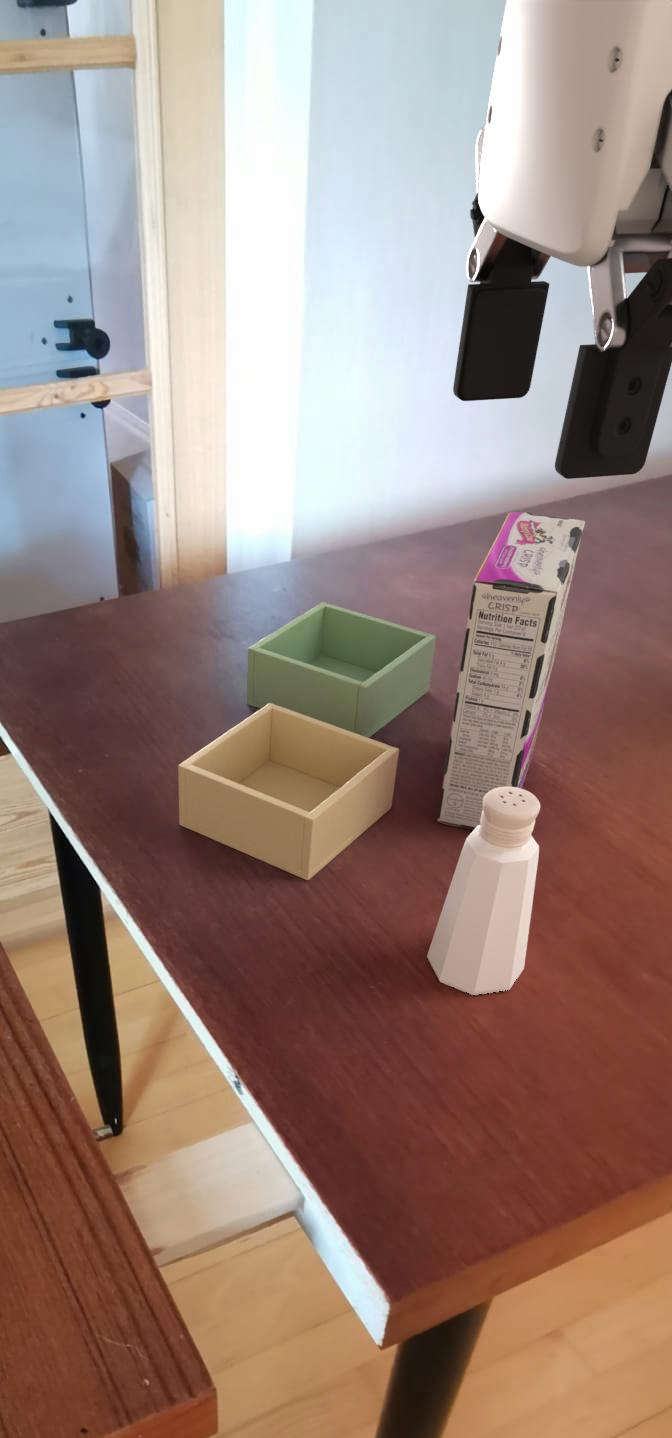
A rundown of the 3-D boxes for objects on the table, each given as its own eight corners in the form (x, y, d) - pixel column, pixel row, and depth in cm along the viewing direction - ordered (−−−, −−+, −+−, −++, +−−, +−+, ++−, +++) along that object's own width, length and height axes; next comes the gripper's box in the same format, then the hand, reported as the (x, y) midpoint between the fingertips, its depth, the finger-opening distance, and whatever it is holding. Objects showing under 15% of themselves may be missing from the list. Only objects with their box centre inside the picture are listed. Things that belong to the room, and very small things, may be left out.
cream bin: (391, 808, 73) (399, 748, 70) (308, 881, 68) (312, 819, 64) (267, 760, 78) (269, 702, 75) (179, 825, 72) (177, 765, 69)
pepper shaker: (472, 1010, 59) (512, 842, 52) (406, 956, 62) (434, 790, 55) (543, 973, 61) (592, 807, 54) (476, 923, 65) (512, 758, 57)
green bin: (428, 691, 85) (437, 635, 82) (360, 745, 79) (366, 687, 76) (318, 655, 90) (322, 601, 86) (246, 704, 84) (247, 648, 81)
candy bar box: (464, 743, 79) (507, 508, 68) (534, 756, 78) (590, 518, 67) (429, 824, 72) (471, 575, 61) (506, 840, 71) (563, 588, 59)
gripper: (1018, -291, 25) (751, 503, 37) (644, -205, 37) (535, 370, 49) (718, -303, 24) (543, 519, 35) (434, -211, 36) (375, 379, 48)
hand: (539, 432), depth 42 cm, fingers open, 9 cm apart
